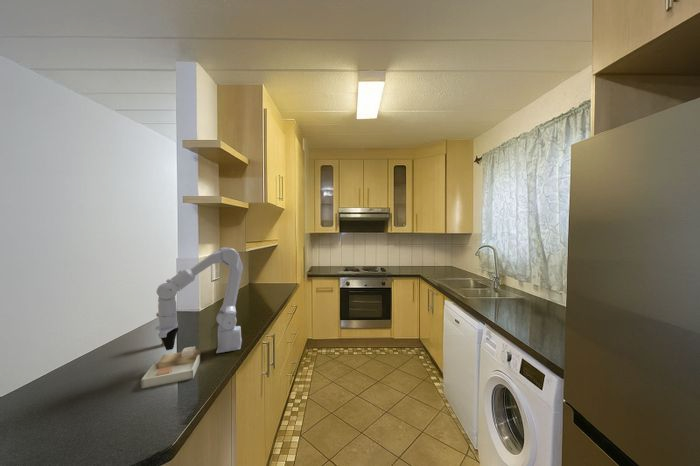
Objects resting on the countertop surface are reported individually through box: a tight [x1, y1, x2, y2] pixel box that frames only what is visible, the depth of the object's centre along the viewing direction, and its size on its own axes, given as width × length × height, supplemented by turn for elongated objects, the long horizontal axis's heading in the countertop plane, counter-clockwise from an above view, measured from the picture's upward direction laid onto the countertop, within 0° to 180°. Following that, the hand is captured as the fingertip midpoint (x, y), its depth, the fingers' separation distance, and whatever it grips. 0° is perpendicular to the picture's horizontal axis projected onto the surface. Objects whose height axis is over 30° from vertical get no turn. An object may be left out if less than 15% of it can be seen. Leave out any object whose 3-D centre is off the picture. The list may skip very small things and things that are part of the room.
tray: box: [140, 355, 201, 390], centre depth 94 cm, size 15×12×3 cm
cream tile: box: [180, 346, 196, 357], centre depth 104 cm, size 4×4×2 cm
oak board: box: [156, 348, 202, 369], centre depth 103 cm, size 13×7×2 cm, turn 110°
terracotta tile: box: [156, 366, 172, 376], centre depth 92 cm, size 4×4×2 cm
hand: (169, 349), depth 100 cm, fingers closed
